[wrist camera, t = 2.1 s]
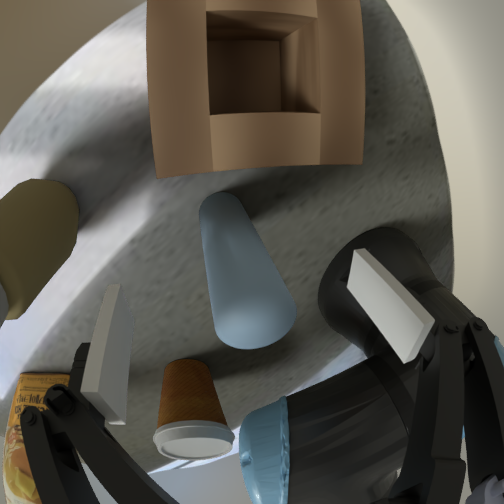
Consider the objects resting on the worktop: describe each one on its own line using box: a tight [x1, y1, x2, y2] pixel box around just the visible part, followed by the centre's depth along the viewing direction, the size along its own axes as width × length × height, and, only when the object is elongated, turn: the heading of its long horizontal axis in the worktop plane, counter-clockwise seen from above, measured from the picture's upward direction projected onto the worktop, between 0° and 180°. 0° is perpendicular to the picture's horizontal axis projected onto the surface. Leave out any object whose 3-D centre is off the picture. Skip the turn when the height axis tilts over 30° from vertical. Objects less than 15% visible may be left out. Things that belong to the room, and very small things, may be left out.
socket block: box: [146, 0, 365, 179], centre depth 15 cm, size 12×12×9 cm
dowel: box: [199, 192, 297, 349], centre depth 19 cm, size 4×4×14 cm
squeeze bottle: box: [0, 179, 79, 328], centre depth 13 cm, size 8×8×18 cm
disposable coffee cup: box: [153, 359, 235, 460], centre depth 29 cm, size 10×10×12 cm
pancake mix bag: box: [2, 373, 78, 504], centre depth 20 cm, size 7×19×28 cm, turn 94°
